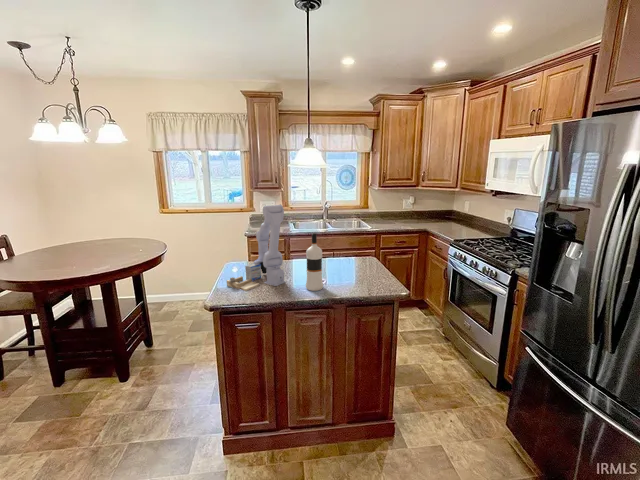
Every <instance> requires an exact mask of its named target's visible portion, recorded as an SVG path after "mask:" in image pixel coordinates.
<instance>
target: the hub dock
mask: <svg viewBox="0 0 640 480" xmlns="http://www.w3.org/2000/svg"><path fill="white" fill-rule="evenodd" d="M226 286H227V287H230V288H232V289H236V290H242V291H245V292H247V291H249V290H252V289H255V288H257V287H259V286H260V283H259V282H256V281H252V279H248V280H246V279H245V280H244V276H242V275H240V276H238V277H236V278H235V277H234V276H233V277H230V278H229V279H227V280H226Z"/></svg>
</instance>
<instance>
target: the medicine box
mask: <svg viewBox="0 0 640 480" xmlns="http://www.w3.org/2000/svg"><path fill="white" fill-rule="evenodd" d="M244 268H245V278H246V279H245V280H248V279H252V282H255V281H256V280H259V279H261V278H262V270H261V264H259V263H258V264H254V263H251V264H247V265H246V266H245V267H244Z"/></svg>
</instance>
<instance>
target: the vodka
mask: <svg viewBox="0 0 640 480" xmlns="http://www.w3.org/2000/svg"><path fill="white" fill-rule="evenodd" d="M317 237H318V235H317V233H315V232H313V233H311V246H309V247H308V248H307V249H306V251H305V254H306V256H305V257H306V283H305V288H306V289H307V290H308V291H310V292H311V291H312V292H317V291H321V290H322V289H323V288H324V283H323V249H322V248H321V247H319V246H318V240H317V239H318V238H317Z"/></svg>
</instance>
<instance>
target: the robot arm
mask: <svg viewBox="0 0 640 480" xmlns="http://www.w3.org/2000/svg"><path fill="white" fill-rule="evenodd" d="M262 214H263V218H264V220H263V222H262V223H261V225H260V227H259V230H258V231H257V232H256V234H255V235H256V236H255V237H256V241H257V245H258V257H257V259H256V260H254V261H253V264H258V263H259V264H261V274H264V275H265V274H266V280H265V281H263V284H265V285H266V284H267V285H270V286H274V287H278V286H281V285H282V284H284V283H286V281H285V270H284V269H282V268H281V266H282V265H283V263H284V262H283V254H282V252H280V251H279V242H280V241H279V240H280V234H281V233H280V232H281V223H283V222H284V217H285V216H284V215H285V210H284V206H283V205H282V204H274V205H271V204H270V205H265V204H264V205H263V208H262Z"/></svg>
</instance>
